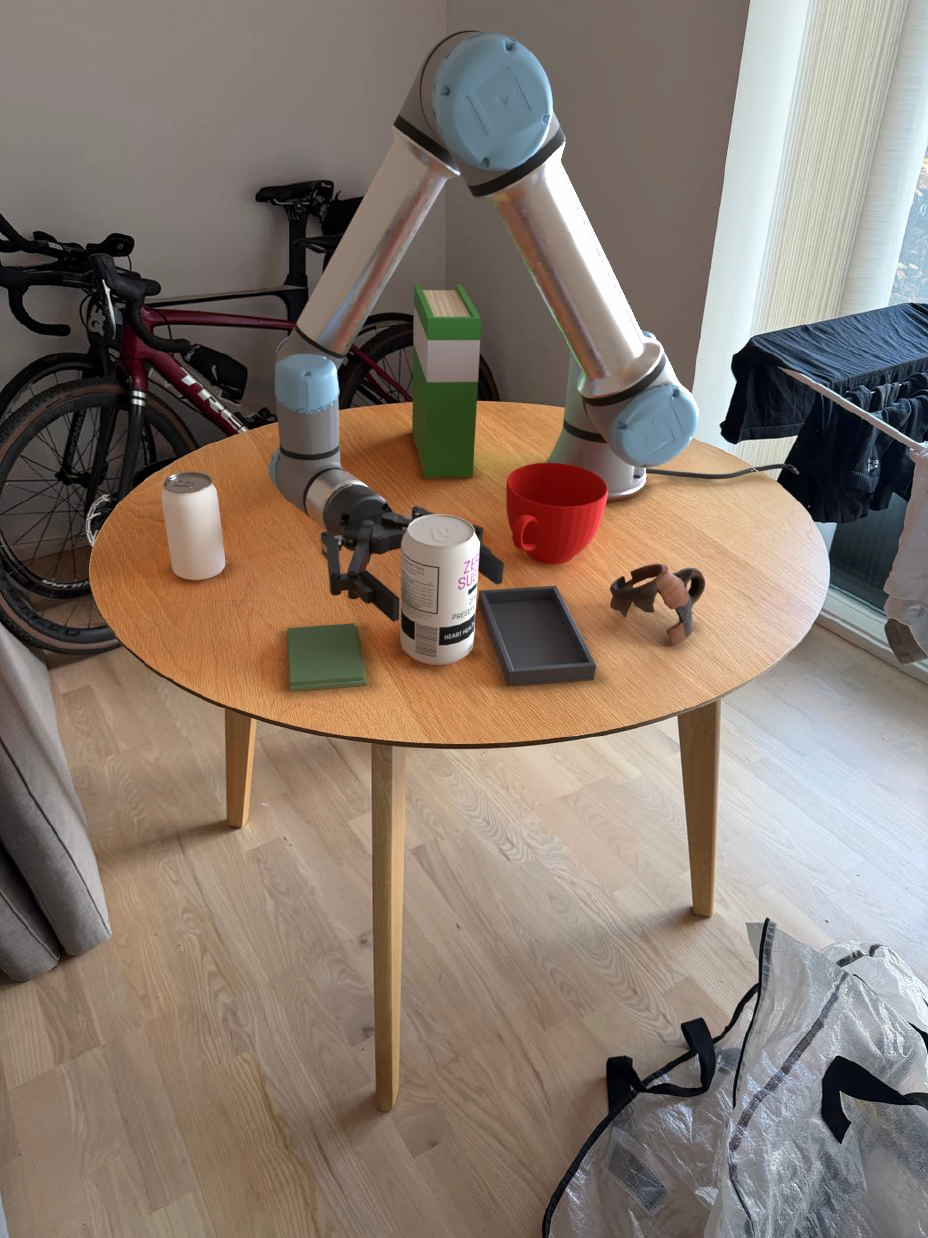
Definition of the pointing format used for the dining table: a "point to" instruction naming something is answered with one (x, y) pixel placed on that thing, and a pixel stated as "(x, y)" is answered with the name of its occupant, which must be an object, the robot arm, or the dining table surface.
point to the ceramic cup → (554, 510)
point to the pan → (535, 636)
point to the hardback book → (445, 381)
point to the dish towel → (325, 657)
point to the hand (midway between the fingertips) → (450, 591)
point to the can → (193, 526)
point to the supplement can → (438, 588)
